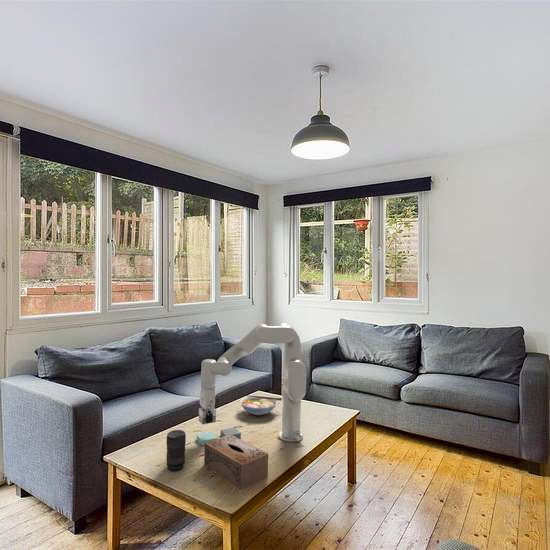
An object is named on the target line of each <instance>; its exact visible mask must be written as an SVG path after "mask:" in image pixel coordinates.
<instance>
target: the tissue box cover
mask: <svg viewBox="0 0 550 550" xmlns="http://www.w3.org/2000/svg"><path fill="white" fill-rule="evenodd" d="M203 452H204V453H203V454H204V459H203V465H204V466H205V467H207V468H208V469H210V470H211V471H213V472H214V473H216V474H217V475H218V476H220V477H222V478H223V479H225V480H226V481H228V482H229V483H231V484H232V485H234V486H236V487H237V488H238V489H239V490H243V489H246V488H247V487H250V486H251V485H253V484H256V483H258V482H260V481H261V480H263V479H266V478H267V477H269V475H268V474H269V453H268V452H266V451H264V450H262V449H260V448H258V447H256V446H254V445H253V444H250V443H248V442H246V441H244V440H242V439H241V438H237V437H235V436H233V435H231V434H230V435H227V436H224V437H222V436H221V437H219V438H218V437H217V439H215V440H212V441H210V442H207V443H205V445H204V451H203Z"/></svg>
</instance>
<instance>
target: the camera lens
mask: <svg viewBox="0 0 550 550" xmlns="http://www.w3.org/2000/svg"><path fill="white" fill-rule="evenodd" d="M186 438H187V435H186V431H184V430H183V429H182V430H181V429H175V430H171V431H168V433H167V435H166V465H167V469H168V471H171V472H178V471H181V470H183V468H184V465H185V463H186V441H187V440H186Z"/></svg>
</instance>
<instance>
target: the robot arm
mask: <svg viewBox="0 0 550 550" xmlns="http://www.w3.org/2000/svg"><path fill="white" fill-rule="evenodd" d="M262 344H271V345H273V344H284V366H283V367H284V370H285V372H286V373H287V377H285V379H283V382H282V384H281V385H282V389H281V390H282V413H281V414H282V417H281V419H282V420H281V421H282V423H281V424H282V425H281V431H280V432H279V433H278V438H279V439H280V440H282V441H284V442H290V443H291V442H292V443H295V442H299V441H302V440H303V439H304V438H303V437H304V435H303V433H302V431H301V413H302V412H301V411H302V410H301V408H302V399H303V398H305V395H306V392H307V368H306V365H305V363H304V362H303V361H302V344H301V339H300V335H299V334H298V333H297V331H296V330H295V329H294V327H292V325H289V324H288V323H284V322H281V323H278V324H277V325H276V326H269V325H267V324H265V323H260V324H259V323H258V324H257V325H256V326H255V327H253V329H251V330H250V331H249V332H248V333H247V334H246V335H245V336H243V338H242V339H240V340H239V341H238V342H236V344H234V345H232V346H231V347H230V348H229V349H227V350H226V351H225V352H224V353H223V354H222V355H221V356H220V357H219V358H218V359H217V361H216V359H212V358H207V359H203V360H201V364H200V365H201V366H200V367H201V369H200V371H201V372H200V391H199V392H200V394H199V405H200V406H201V408H204V409H205V410H207V415H206V423H208V424H212V423H211V422H213V412H214V408H215V405H216V392H215V391H216V388H217V376H220V377H226V376H230V374H231V373H232V371H233V365H234V364H235V363H236V362H237V361H238V360H240V359H241V358H243V357H245V356H249V355H251V354H252V353H253V352H254V351H255V350H256V349H257V348H259V346H261V345H262ZM209 407H210V408H209ZM210 409H211V410H210ZM209 410H210V411H209Z"/></svg>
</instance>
